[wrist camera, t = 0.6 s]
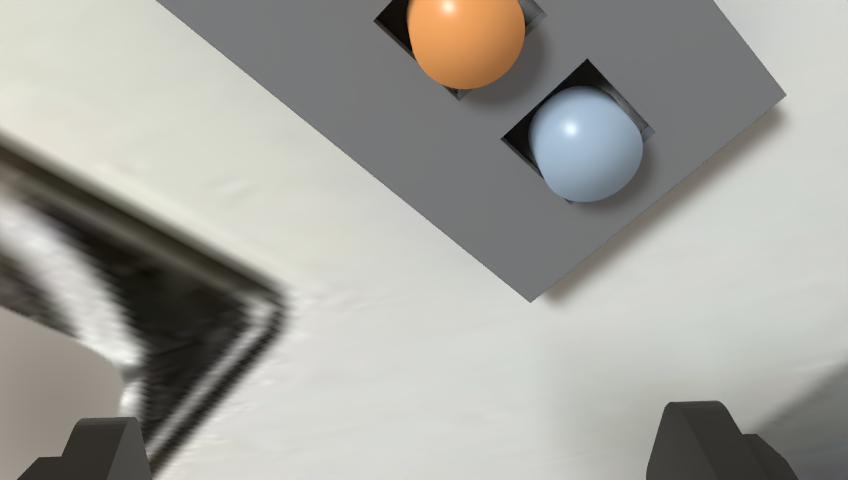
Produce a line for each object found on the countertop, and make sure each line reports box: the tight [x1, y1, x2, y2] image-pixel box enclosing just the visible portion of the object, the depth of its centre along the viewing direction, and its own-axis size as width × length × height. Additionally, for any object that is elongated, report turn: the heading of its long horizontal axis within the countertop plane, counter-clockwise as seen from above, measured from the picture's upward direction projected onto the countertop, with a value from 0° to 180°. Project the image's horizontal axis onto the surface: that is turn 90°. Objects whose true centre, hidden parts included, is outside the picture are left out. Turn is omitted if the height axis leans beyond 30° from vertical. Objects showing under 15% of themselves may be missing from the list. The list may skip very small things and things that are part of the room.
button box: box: [156, 0, 786, 303], centre depth 28 cm, size 14×24×3 cm, turn 46°
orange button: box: [406, 0, 525, 89], centre depth 26 cm, size 4×4×2 cm
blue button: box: [529, 86, 643, 202], centre depth 29 cm, size 4×4×2 cm
